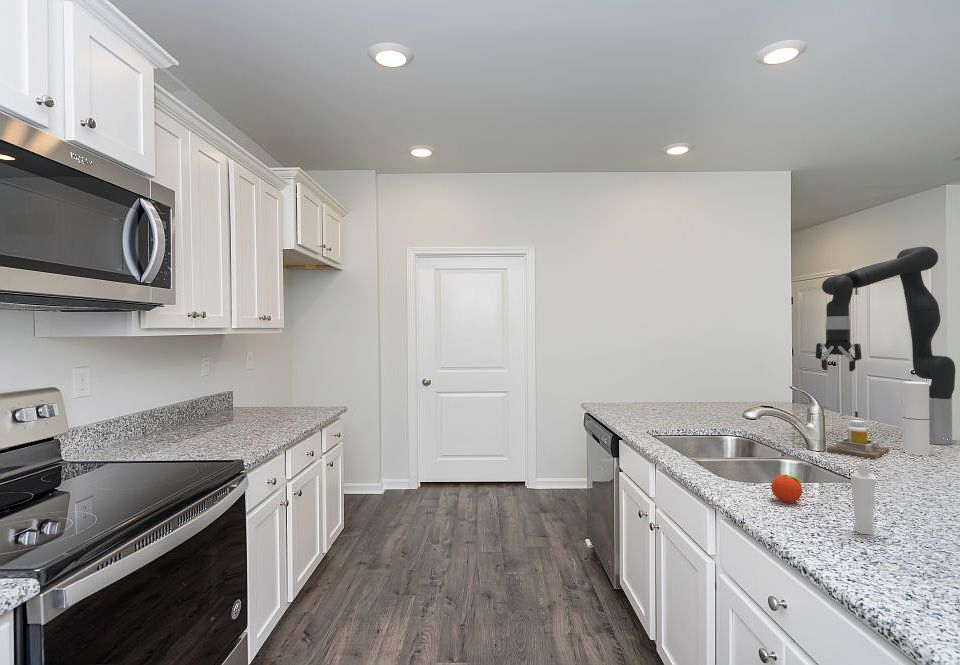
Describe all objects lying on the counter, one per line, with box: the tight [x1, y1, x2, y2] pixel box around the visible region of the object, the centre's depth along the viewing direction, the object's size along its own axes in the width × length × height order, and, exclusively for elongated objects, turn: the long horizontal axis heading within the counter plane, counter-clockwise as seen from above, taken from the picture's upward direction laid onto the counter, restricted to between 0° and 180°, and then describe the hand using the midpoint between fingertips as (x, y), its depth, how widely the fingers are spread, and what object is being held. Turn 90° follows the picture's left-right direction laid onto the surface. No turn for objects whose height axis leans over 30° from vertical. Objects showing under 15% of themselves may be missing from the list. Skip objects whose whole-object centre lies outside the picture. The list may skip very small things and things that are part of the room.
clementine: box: [770, 474, 808, 504], centre depth 130 cm, size 8×7×7 cm
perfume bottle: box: [850, 462, 876, 536], centre depth 111 cm, size 5×4×15 cm
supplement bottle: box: [847, 419, 868, 444], centre depth 179 cm, size 5×5×10 cm
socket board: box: [826, 436, 890, 460], centre depth 179 cm, size 15×14×4 cm
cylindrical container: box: [901, 381, 931, 456], centre depth 176 cm, size 7×7×25 cm
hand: (838, 370), depth 192 cm, fingers open, 8 cm apart
